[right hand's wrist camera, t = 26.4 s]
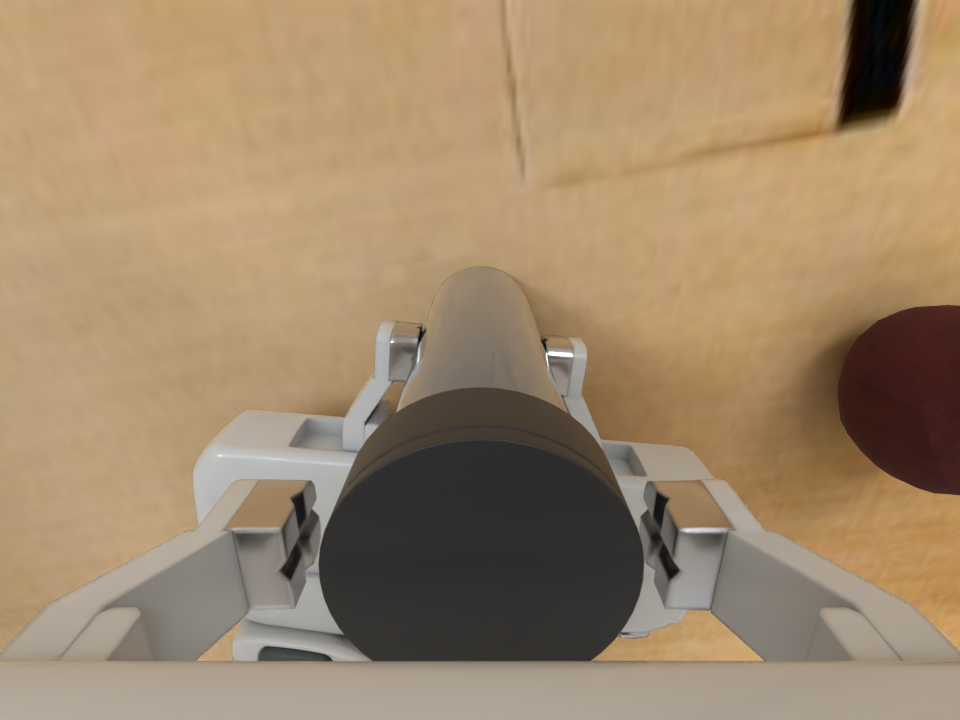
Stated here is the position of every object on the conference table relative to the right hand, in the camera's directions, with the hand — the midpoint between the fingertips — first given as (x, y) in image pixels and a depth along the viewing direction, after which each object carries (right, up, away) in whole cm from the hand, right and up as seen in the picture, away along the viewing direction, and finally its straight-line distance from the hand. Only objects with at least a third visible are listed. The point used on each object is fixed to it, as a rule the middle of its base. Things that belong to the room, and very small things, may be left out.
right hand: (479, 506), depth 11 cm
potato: (+19, +3, +14) cm, 24 cm away
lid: (0, -1, -2) cm, 2 cm away
